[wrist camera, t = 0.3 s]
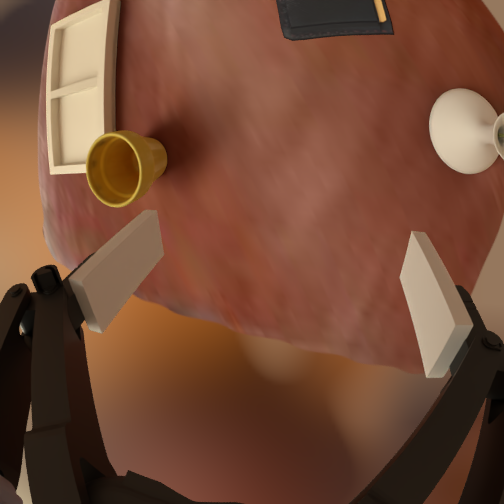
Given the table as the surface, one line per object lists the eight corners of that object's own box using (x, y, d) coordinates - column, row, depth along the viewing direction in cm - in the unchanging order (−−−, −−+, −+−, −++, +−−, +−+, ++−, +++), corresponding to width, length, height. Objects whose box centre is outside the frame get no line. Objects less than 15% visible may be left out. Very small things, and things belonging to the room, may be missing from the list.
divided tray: (61, 26, 38) (51, 25, 35) (121, 0, 34) (110, -3, 31) (61, 171, 51) (50, 174, 48) (117, 168, 47) (106, 172, 44)
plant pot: (178, 194, 46) (142, 213, 37) (125, 187, 48) (86, 203, 39) (180, 127, 41) (142, 132, 33) (126, 126, 44) (84, 132, 35)
